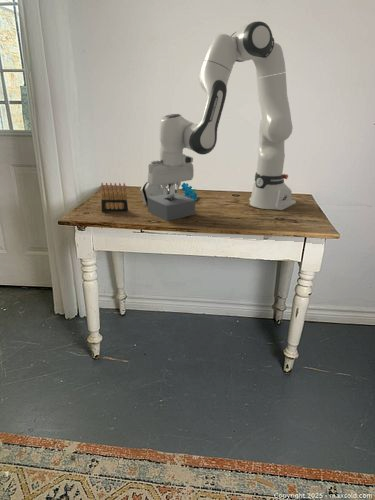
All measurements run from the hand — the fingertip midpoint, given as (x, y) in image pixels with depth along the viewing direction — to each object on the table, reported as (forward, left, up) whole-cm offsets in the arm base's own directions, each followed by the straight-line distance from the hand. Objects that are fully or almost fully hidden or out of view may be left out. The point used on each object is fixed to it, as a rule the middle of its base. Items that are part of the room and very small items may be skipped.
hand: (171, 193), depth 140 cm
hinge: (-4, -19, -9) cm, 22 cm away
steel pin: (0, 0, -5) cm, 5 cm away
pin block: (0, 0, -8) cm, 8 cm away
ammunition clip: (+18, -15, -8) cm, 25 cm away
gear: (-19, -11, -8) cm, 23 cm away
